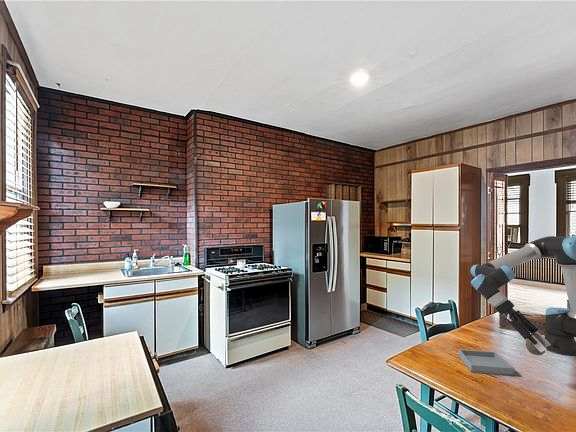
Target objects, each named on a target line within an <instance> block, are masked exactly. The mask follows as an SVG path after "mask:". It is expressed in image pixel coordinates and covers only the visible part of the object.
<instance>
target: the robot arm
mask: <svg viewBox="0 0 576 432" xmlns="http://www.w3.org/2000/svg"><path fill="white" fill-rule="evenodd" d="M544 258H552V259H555V262H556V264H557V265H558V266H559V267H561V273H562V276H563V277H562V278H563V281H564V287H565V291H566V295H567V300H568V304H569V308H566V307H547V308H546V309H545V314H544V315H545V316H546V335H545V336H542V335H541V334H540V333H539V332H538V330H539V329H538V328H536V327H535V326H534V325H533V324H532V323H531V322H530V321H529V320H528V319H527V318H526V317H525V316H523V315H522V313H521V312H522V311H521V312H520V310H516V309H514V307H515V304H514V303H513V302H512V301H511V300H510V299H508V297H507V296H506V295H505V294H504V293H502V291H501V290H500V289H499V288H501V287H504V286H505V285H506V284H508V283H510V282H511V281H512V280H514V279H515V277H516V273H515V272H514V270H513V268H515V267H518V266H520V265H522V264H525V263H528V262H530V261H531V260H540V259H544ZM470 274H471V275H472V277H474V278H473V279H472V280H471V281H470V284H471V286H472V287H473V288H474V289H475V290H476V291H477V292H478V293H479V294H480V295H482V297H483V298H484V300H486V301H487V302H488V304H489V305H491V306H492V307H493V308H495V310H496V311H497V313H498V314H499V313H500V314H501V315H502V314H505V315H506V316H507V318H506V320H507V321H508V322H509V323H510V324H511V325H512V326H513V327H514V328H515V329H516V330H517V331H516V332H517V333H518V334H519V335H520V336H521V337H522V338H523V339H524V340H527V339H528V340H529V341H530V342H531V343H532V344H533V345H534V346H535V347H536V348H537V349H538V350H539V351H540V352H543V351H544V350H545V351H548V352H551V353H554V354H555V353H556V354H559V355H563V356H570V357H571V356H572V357H573V356H574V357H575V356H576V237H574V236H555V235H551V236H550V235H549V236H544V237H540V238H538V239H534V240H532V241H530V242H528V243H525V245H524V246H523V247H521V248H519V249H516V250H514V251H512V252H509V253H507V254H504V255H503V256H500V257H497V258H495V259H493V260H491V261H487V262H486V263H484V264H473V265H472V266H471V268H470ZM529 331H530V332H531V333H536V334H539V336H540V338H541V339H542V340H543V341H544V343H545V346H546V348H545V347H544V346H543V345H542V344H541V343H540V342H539V341H538V340H537V339H536V338H535V337H534V336H533V335H531V334H530V332H529Z"/></svg>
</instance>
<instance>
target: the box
mask: <svg viewBox="0 0 576 432" xmlns="http://www.w3.org/2000/svg"><path fill="white" fill-rule="evenodd" d="M457 356H458V357H459V359H460V360H461V361H462V362H463V364H464V365H465V366H466V368H467V369H468V370H469V371H470V373H473V374H474V373H475V374H485V375H496V376H497V375H499V376H507V377H508V376H512V377H515V368H514V367H513V366H512V365H511V364H509V363H508V362H507V361H506V360H505V359H504V358H503V357H502V356H500V354H498V353H497V352H496V351H491V350H490V351H489V350H487V351H486V350H476V349H475V350H473V349H460V348H459V349H457Z"/></svg>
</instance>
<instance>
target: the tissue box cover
mask: <svg viewBox="0 0 576 432" xmlns="http://www.w3.org/2000/svg"><path fill="white" fill-rule="evenodd" d="M519 311H520V310H519ZM520 312H521V313H522V315H523V316H525V317H526V318H527V319H528V320H529V321H530V322H531V323H532V324H533V325H534V326H535V327H536V328H538V329H539V330H538V332H539V333H540V334H541V335H544V336H543V337H545V335H546V316H545V314H543V313H542V314H540V313H534V312H526V311H520ZM498 316H499V318H498V319H499V320H498V322H499V329H501V330H506V331H513V332H518V331H517V330H516V329H515V328H514V327H513V326H512V325H511V324H510V323H509V322H508V321H507V320H506V318H507V316H506V315H505V314H502V315H501V314H500V313H499V312H498ZM529 332H530V331H529ZM530 333H531V332H530ZM531 334H532V333H531Z"/></svg>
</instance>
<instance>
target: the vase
mask: <svg viewBox="0 0 576 432" xmlns="http://www.w3.org/2000/svg"><path fill="white" fill-rule="evenodd" d="M531 335H533V336H534V337H535V338H536V339H537V340H538V341H539V342H540V343H541V344H542V345H543V346H544V347H545V348H546V346H545V343H544V341H543V340H542V339H541V338H540V336H539V334H536V333H532V334H531ZM525 347H526V349H527V351H528V352H529V353H530V354H532V355H534V356H543V355H544V354H545V353H546V350H544V351H543V352H540V351H539V350H538V349H537V348H536V347H535V346H534V345H533V344H532V343H531V342H530V341H529V340H528V339H525Z"/></svg>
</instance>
